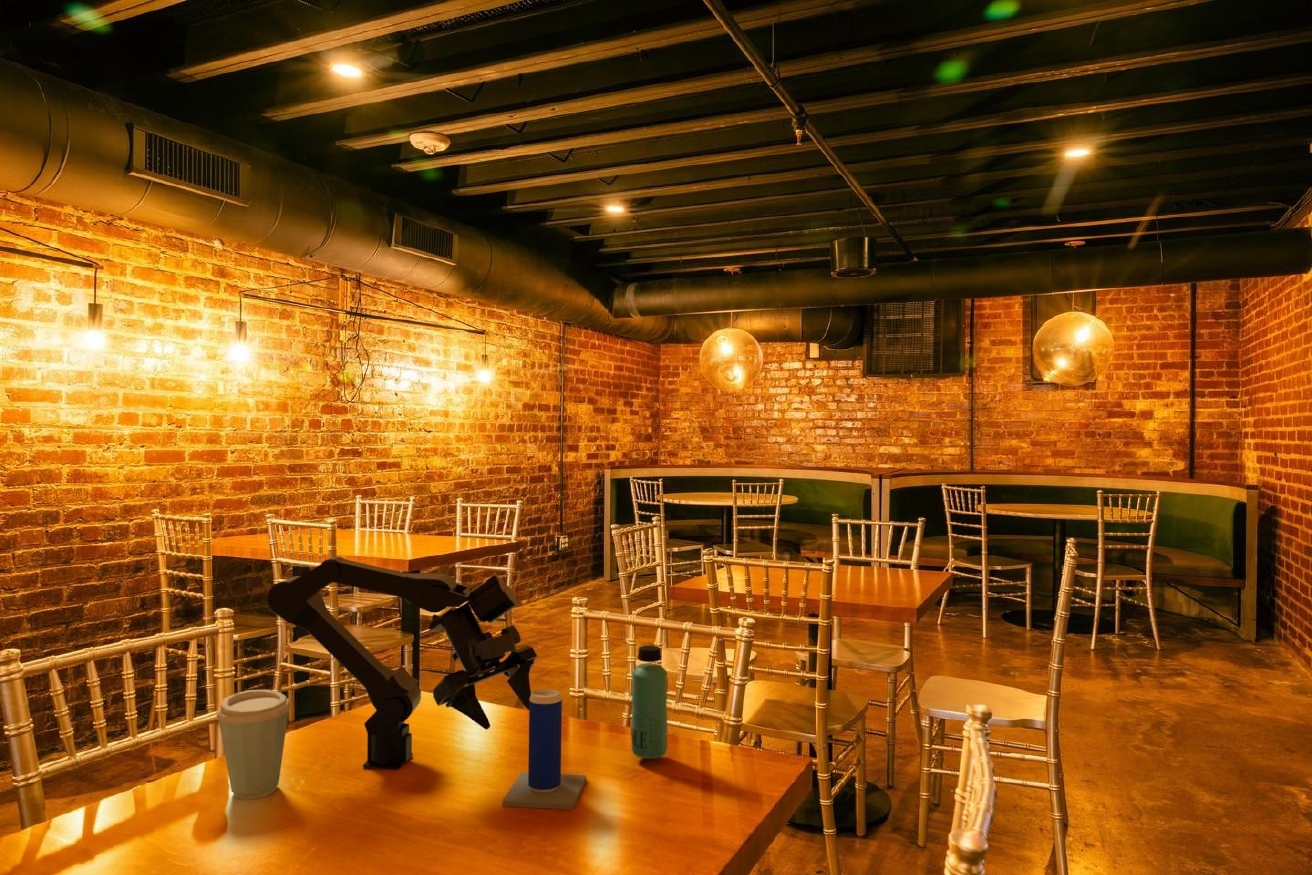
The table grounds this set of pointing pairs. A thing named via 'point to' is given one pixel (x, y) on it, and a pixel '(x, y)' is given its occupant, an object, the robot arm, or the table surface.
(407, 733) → the robot arm
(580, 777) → the coaster
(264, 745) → the disposable coffee cup
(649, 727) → the beverage bottle
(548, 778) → the beverage can
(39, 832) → the table surface
